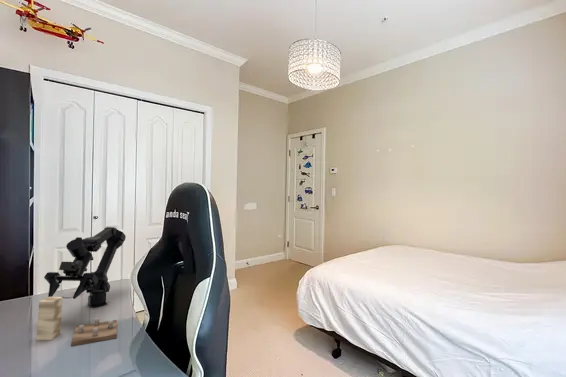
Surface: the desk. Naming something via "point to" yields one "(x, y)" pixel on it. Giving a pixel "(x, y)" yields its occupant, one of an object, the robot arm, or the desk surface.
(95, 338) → the board
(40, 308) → the birch block
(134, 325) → the desk surface
